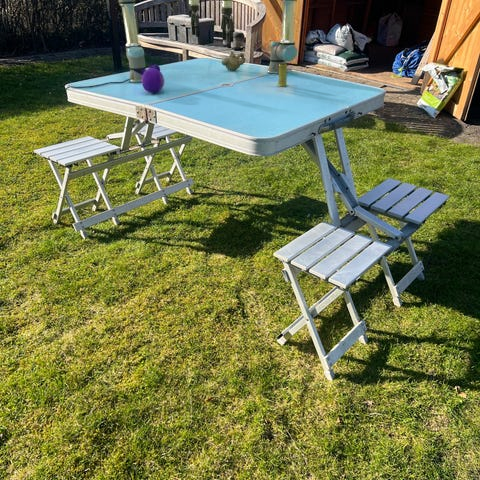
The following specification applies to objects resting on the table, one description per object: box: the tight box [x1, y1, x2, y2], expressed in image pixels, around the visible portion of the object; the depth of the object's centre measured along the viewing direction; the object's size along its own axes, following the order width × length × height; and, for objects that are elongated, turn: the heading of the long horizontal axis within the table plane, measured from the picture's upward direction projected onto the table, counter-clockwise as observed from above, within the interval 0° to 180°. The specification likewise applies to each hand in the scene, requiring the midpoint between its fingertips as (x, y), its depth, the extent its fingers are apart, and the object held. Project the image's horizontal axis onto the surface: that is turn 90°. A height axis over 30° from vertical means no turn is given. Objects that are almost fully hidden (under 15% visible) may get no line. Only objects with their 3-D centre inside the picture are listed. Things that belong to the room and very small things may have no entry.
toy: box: [134, 64, 165, 94], centre depth 304 cm, size 16×18×27 cm
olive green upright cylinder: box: [277, 63, 288, 88], centre depth 312 cm, size 6×6×14 cm
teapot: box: [221, 50, 246, 72], centre depth 365 cm, size 21×12×15 cm, turn 120°
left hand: (195, 35), depth 348 cm, fingers open, 13 cm apart
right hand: (227, 41), depth 318 cm, fingers open, 13 cm apart
